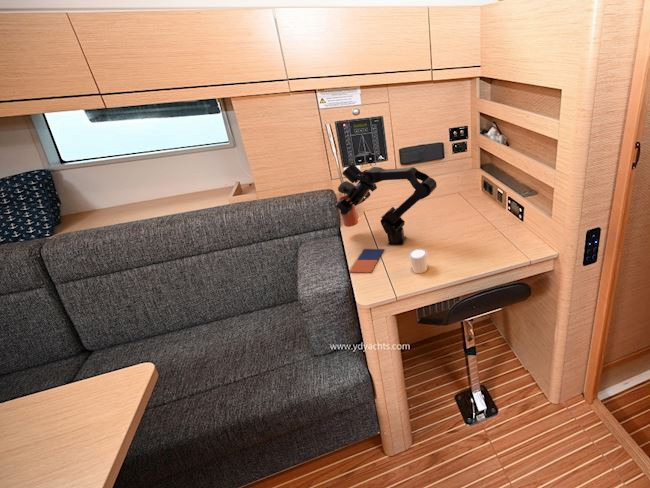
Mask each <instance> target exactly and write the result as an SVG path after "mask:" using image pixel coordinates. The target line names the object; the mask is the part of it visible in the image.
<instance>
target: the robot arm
mask: <svg viewBox="0 0 650 488" xmlns="http://www.w3.org/2000/svg"><path fill="white" fill-rule="evenodd" d="M342 176H344V177H345V178H346V179H347V180H344V181H343V182H342V183H339V186H338V187H337V191H338V192H339V193H341V194H343V195H346V196H347V197H348V198H349V200H350V201H348V202H347V201H346V200H345V199H341V200H340V201H338V200H337V202H336V203H335V207H336V208H337V209H338V210H339V211H340V212H339V213H340V215H341V216H342V215H343V214H348V213H349V212H350V211H352V209H353V207H352V205H355V207H357V206H358V205H360V204H362V203H363V202H365V201H366V200H368V199H369V198H370V197H371V192H374V191H376V190H377V189H378V186H377V183H380V182H383V181H399V180H407V181H408V182H409V183H410V185H411V187H412V188H413V189H415V190H414V191H413V193H412V194H411V195H410V196H409V197H408V198H406V199H405V201H403V202H402V203H400V205H399V206H397V208H395V207H394V206H392V207H390V209H389V210H387V211H386V212H385V213H384V214H383V215H382V216H381V217H380V218H381V219H380V224H381V227H382V228H383V230H384V232H385V234H386V235H387V240H388V245H389V246H402V245H404V242H405V240H406V239H407V237H406V235H405V231H404V226H405V224H406V222H405V220H404V219H403V218H402V216H403V215H404V214H405V213H406V212H407V211H409V210H410V209H411V208H412V207H413V206H414V205H416V204H417V203H418V202H419V201H420V200H423V199H426V198H427V197H429V196H430V195H431V194H432V193H433V192H434V191H435V190H436V188H437V186H438V185H437V181H436V180H435V179H434V178H433V177H430V176H429V175H428V174H426V173H425V172H422V171H420V170H418V169H417V168H416V167H413V166H411V167H405V168H388V169H386V168H382V167H379V166H372V167H371V168H369V169H365V170H361V169H359V167H357V166H356V164H354V163H351V164H349V166H348V167H346V168H345V169H344V170H343V171H342ZM420 181H421V182H420ZM354 183H355V184H356V185H355V184H354ZM352 202H353V203H352Z"/></svg>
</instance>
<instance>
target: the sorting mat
mask: <svg viewBox="0 0 650 488" xmlns="http://www.w3.org/2000/svg"><path fill="white" fill-rule="evenodd" d="M384 251H385V249H384V248H364V249H363V250H362V251H361V253H360V255H359V257H358V258H357V259H356V261H355V262H354V263H353V265H352V267H351V269H350V270H349V274H351V273H352V274H355V273H357V274H372V272H373V270H374V268H376V265H377V263H378V262H379V260H380V258H381V256H382V254H383V253H384Z"/></svg>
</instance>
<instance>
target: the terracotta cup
mask: <svg viewBox="0 0 650 488" xmlns="http://www.w3.org/2000/svg"><path fill="white" fill-rule="evenodd" d="M346 195H347V194H344V195H342V196H340V197H339V198H338V199H337V202H338V201H340V200H341V199H345V200H346V201H347V202H348V201H350V200H349V198H348V197H347V196H346ZM352 203H353V202H352ZM352 207H353V209H352V211H350V212H349V213H348V214H343V215H342V214H341V217H342V221H343V225H344V227H347V228H350V227H354V226H356V225H358V224H359V217H358V214H357V209H356V206H355V205H352Z"/></svg>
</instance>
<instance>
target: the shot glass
mask: <svg viewBox="0 0 650 488" xmlns="http://www.w3.org/2000/svg"><path fill="white" fill-rule="evenodd" d="M408 257H409V261H410V265H411V269H412V271H413V272H414V273H416V274H422V273H425V272H426V271H427V270H428V252H427V250H426V249H424V248H416V249H413V250H411V251H410V252H409V253H408Z"/></svg>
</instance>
